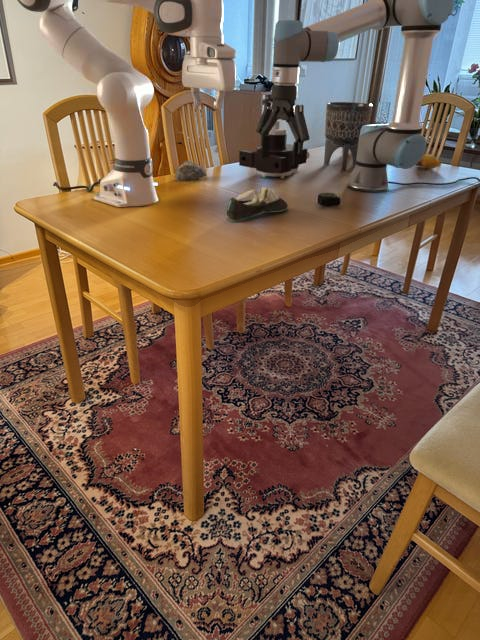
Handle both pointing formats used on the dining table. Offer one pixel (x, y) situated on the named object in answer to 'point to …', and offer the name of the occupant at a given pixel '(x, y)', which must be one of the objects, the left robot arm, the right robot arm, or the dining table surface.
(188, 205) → the dining table surface
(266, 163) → the mechanical component
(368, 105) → the planter
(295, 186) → the dining table surface
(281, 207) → the ballet flat
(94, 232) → the dining table surface
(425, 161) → the toy
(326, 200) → the tape measure
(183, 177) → the rock
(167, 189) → the dining table surface
